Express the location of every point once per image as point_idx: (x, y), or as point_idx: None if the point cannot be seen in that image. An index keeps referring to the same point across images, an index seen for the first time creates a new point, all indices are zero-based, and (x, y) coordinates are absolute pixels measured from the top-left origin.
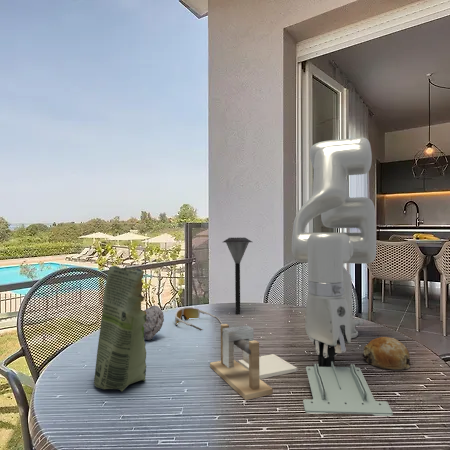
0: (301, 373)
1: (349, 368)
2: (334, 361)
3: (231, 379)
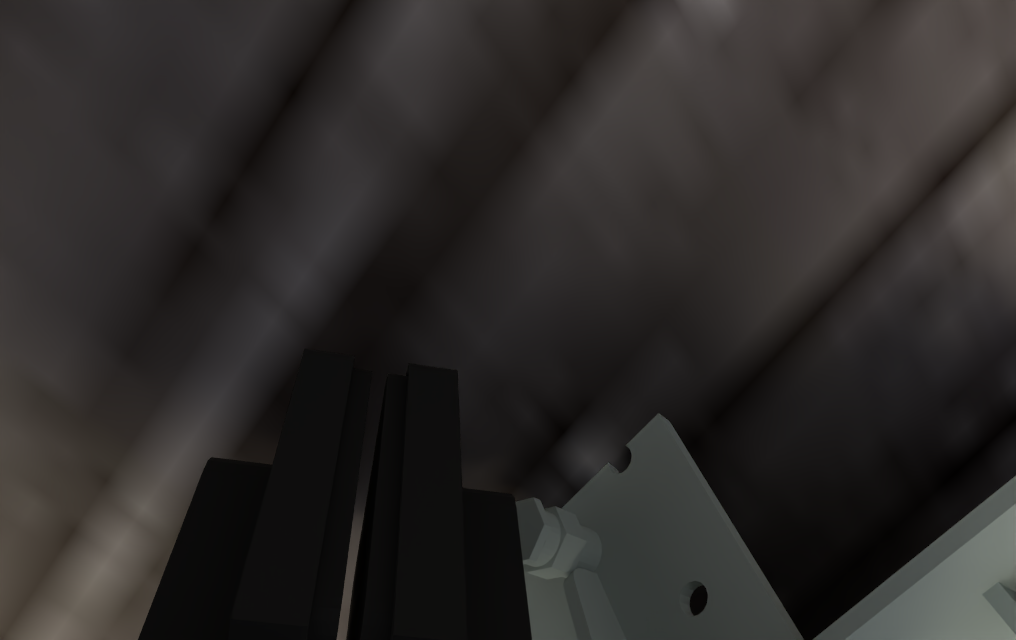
0: (26, 627)
1: (960, 571)
2: (461, 514)
3: None
